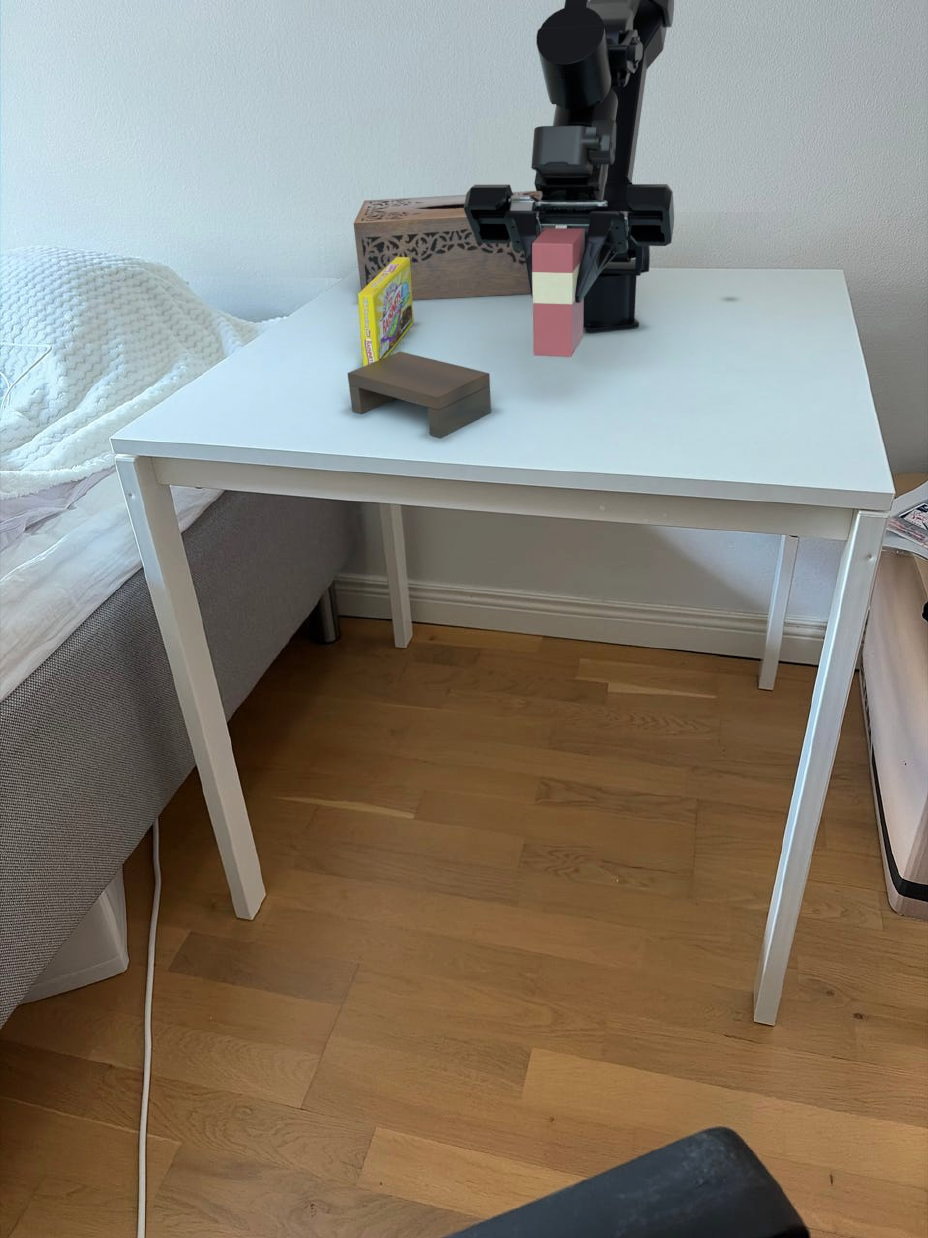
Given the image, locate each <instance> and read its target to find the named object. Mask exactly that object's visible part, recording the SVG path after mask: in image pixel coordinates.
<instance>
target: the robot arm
mask: <svg viewBox="0 0 928 1238" xmlns="http://www.w3.org/2000/svg"><path fill="white" fill-rule="evenodd" d="M674 13H675V0H565V1H564V6H563V8H561V9H559V10H557V11H555V12H554V13H552V14H551V15H549V16H548V17H547V18H546V19H545V20H544V21H543V23H542V24H541V26H540V28H538V29H537V31H536V32H537V33H536V42H535V43H536V48H537V52H538V57H539V61H540V65H541V69H542V73H543V79H544V82H545V87H546V93H547V96H548V99H549V102H550V104H551V105H555V110H554V116H553V121H552V125H542V126H541V125H540V126H536V127H535V128H534V130H533V141H532V153H531V165H530V166H531V167H530V168H531V170H532V171H535V177H534V182H533V183H534V187H535V191H542V193H541V199H540V200H537V199H536V198H535V197H533V196H513V193H512V192H513V190H512V187H511V184H474V185H472V186H471V187H470V188H469V190H468V191H466V193H465V195H466V199H465V204H464V211H465V214H466V216H467V219H468V221H469V224H470V226H471V229H472V231H473V233H474V236H475V238H476V240H477V241H479V242H481V243H487V244H509V243H510V242H511V241H512V244H513V247H514V249H515V250H517V251H524V255H525V260H526V266H527V272H528V278H529V284H530V291H531V294H530V295H531V299H532V300H533V292H532V243H533V242H534V241H535V240H536V239H537V238H538V237H539V236H540V234H541V232H540V230H542V225H556V226H565V227H566V228H575V229H585V247H584V253H583V257H582V261H581V265H580V269H579V273H578V277H577V283H576V291H575V301H576V303H580V302H581V301H582V300H583V298H584V312H583V331H584V332H585V333H597V332H605V331H606V332H607V331H615V330H616V331H617V330H624V329H633V328H639V327H640V322H639V321H638V320H637V319H636V317H635V316H636V298H637V297H636V295H637V277H641V275H642V274H644V273H648V272H650V262H651V247H667V246H669V245H670V244H672V240H673V234H674V229H675V228H674V227H675V209H674V208H675V207H674V191H673V190H672V189H671V187H670V186H669V185H668V183H646V184H645V183H633V176H634V168H635V162H636V161H635V160H636V153H637V147H638V145H637V144H638V138H639V131H640V130H639V129H640V122H641V115H642V108H643V101H644V92H645V86H646V78H647V72H648V69H649V68H650V67H651V65H652V64H653V63H654V62H655V60H656V59H657V58H658V57H659V56H660V55H661V53H662V52H663V51H664V49H665V48H664V47H665V42H666V37H667V30H668V29H669V28H672V26H673V21H674V15H675V14H674ZM667 28H668V29H667Z"/></svg>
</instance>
